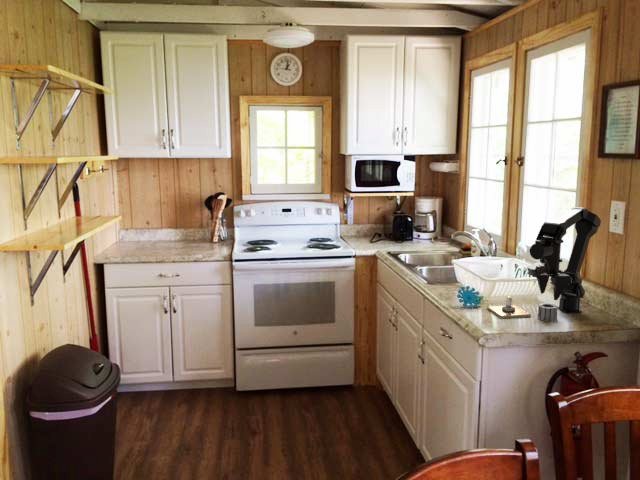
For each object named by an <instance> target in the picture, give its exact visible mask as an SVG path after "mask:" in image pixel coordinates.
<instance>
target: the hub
mask: <svg viewBox="0 0 640 480" xmlns="http://www.w3.org/2000/svg"><path fill="white" fill-rule="evenodd" d="M558 307H559V305H556V304H552V303H546V302H543V303H538V308H537V309H538V310H537V319H538V320H540V321H544V322H556V321H557V320H558V311H559V309H558Z"/></svg>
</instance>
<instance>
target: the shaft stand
mask: <svg viewBox="0 0 640 480" xmlns="http://www.w3.org/2000/svg"><path fill="white" fill-rule="evenodd" d="M505 299H506V300H505V301H506V302H505V305H491V306H487V307H486V309H487V310H488V311H489V312H491V313H492V314H493V315H496V316H497V317H498V318H500V319H510V318H511V319H513V318H514V319H515V318H531V317H532V314H531V313H530V312H528V311H526V310H525V309H523V308H521V307H520V306H517V305H516V304H513V305H512V303H513V301H512V300H513V298H512V296H506V298H505Z"/></svg>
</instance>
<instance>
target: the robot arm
mask: <svg viewBox="0 0 640 480" xmlns="http://www.w3.org/2000/svg"><path fill="white" fill-rule="evenodd" d="M601 222H602V221H601V218H600V216H598V215H597V214H596V213H593V212H592V211H590V210H588V209H587V208H586V207H579V206H574V207H572V208H571V210H569V211H568V212H566V213H564V214H563V215H561V216H560V217H558V218H555V219H549V220H547V221H544V223H543V224H542V225H541V227H540V230H539V232H538V234H537V236H536V239H535V241H534V244H532V245H531V246H530V249H529V256H530V257H531V258H532V259H534V260H539V262H534V263H531V264H530V265H528V266H526V269H527V272H528V275H529V276H532V277H533V278H536V280H537V283H538V284H537V285H538V287H539V290H540V294H545V292H546V289H547V286H548V284H549V283H548V282H549V280H550V284H551V286H552V287H553V300H554V301H558V300H559V305H558V310H560V311H562V312H564V313H566V314H571V313H575V314H576V313H582V312H583V311H582V310H581V309H580V303H581V299H583V298H584V297H585V295H586V290H585V289H584V287H583V285H582V283H583V279H582V275H581V270H582V266H583V263H584V259H585V256H586V254H587V250H588V247H589V243H590V239H591V238H592V237H593V236H594V235H595V234H596V233H598V230H599V228H600V227H601ZM572 226H574V228H575V232H576V236H575V240H574V244H573V247H572V249H571V253H570V257H569V261H568V263H567V267H566V268H565V269H564V270H563V271H562V269H560V263H563V259H562V258H561V249H562V248H561V245H562V244H563V243H564V240H563V237H564V236H565V235H566V234H567V230H568V229H569V228H571V227H572Z"/></svg>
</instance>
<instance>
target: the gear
mask: <svg viewBox="0 0 640 480" xmlns="http://www.w3.org/2000/svg"><path fill="white" fill-rule="evenodd" d="M479 295H480V292H479V290H478V291H476V288H474V287H472V288H471V290H470V286H469V285H466V287H465V286H461V287H460V289H458V290H457V296H456V297H457V298H458V302H459V303H463V304H462V305H463V307H464V308H466V307H468V308H469V309H472V308H478V305H481V303H482V302H481V300H483V299H484V298H485V296H484V295H481V296H479Z"/></svg>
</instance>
